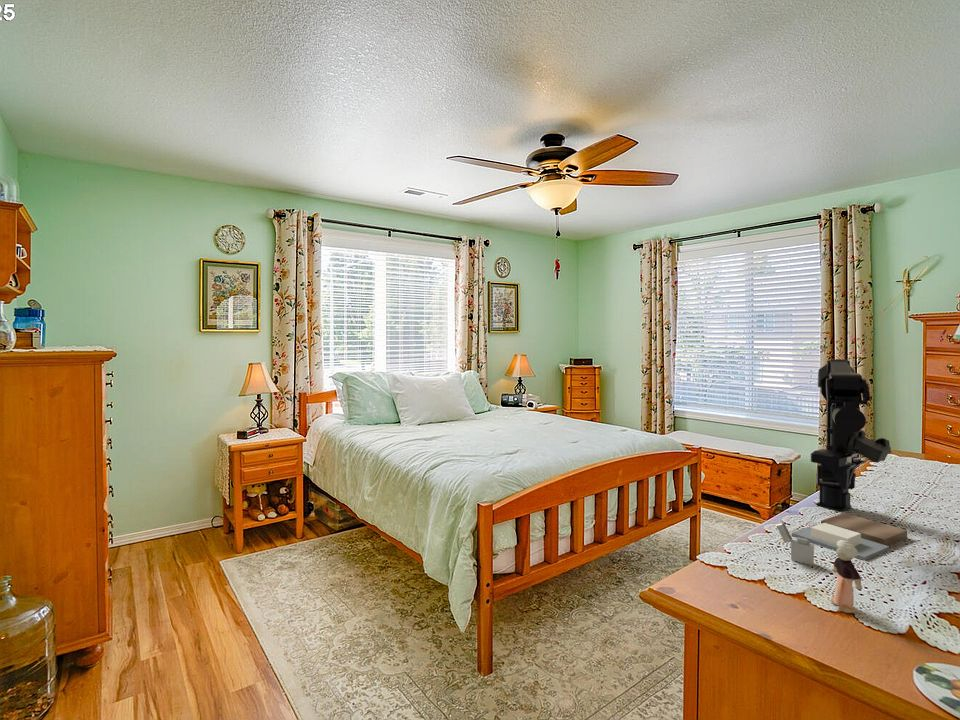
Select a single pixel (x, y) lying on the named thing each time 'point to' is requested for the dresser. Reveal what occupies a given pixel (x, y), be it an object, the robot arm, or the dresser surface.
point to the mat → (864, 549)
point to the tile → (834, 534)
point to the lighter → (797, 546)
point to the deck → (868, 528)
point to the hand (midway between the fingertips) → (844, 488)
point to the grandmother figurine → (845, 577)
